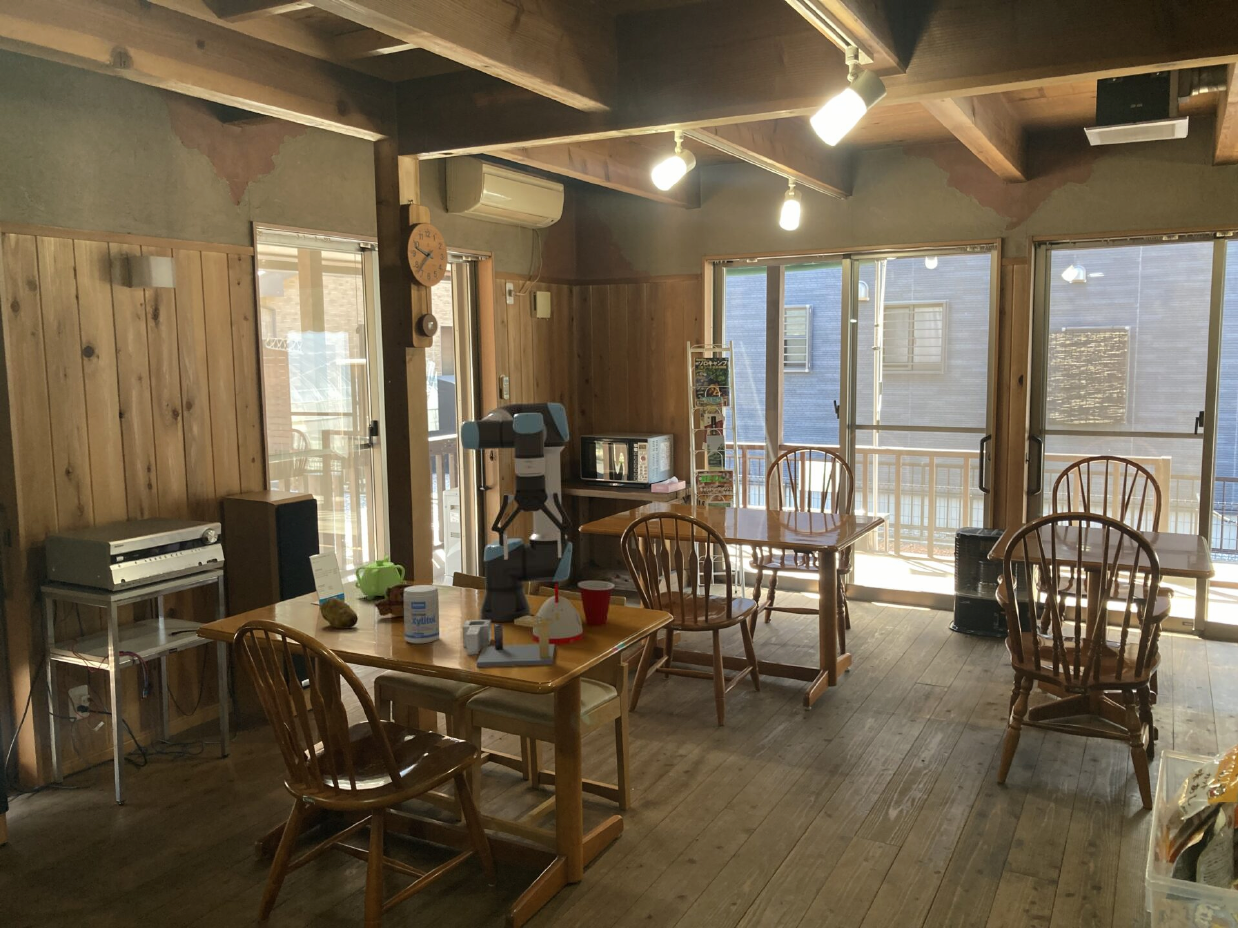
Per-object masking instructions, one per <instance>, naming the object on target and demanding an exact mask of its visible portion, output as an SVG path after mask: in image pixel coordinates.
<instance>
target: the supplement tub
mask: <svg viewBox="0 0 1238 928" xmlns="http://www.w3.org/2000/svg"><path fill="white" fill-rule="evenodd" d="M416 585H417V584H416ZM416 585H413V586H411V587H407V588H405V589H404V616H403V622H404V640H405V641H406V642H408V643H411V644H426V643H431V642H435V641H437V640H439V637H440V609H439V608H440V607H439V592H438V591H439V589H438V587H437V586H435V585H429V584H420V585H419V584H418V585H417V586H416Z"/></svg>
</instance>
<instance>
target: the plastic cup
mask: <svg viewBox="0 0 1238 928" xmlns="http://www.w3.org/2000/svg"><path fill="white" fill-rule="evenodd" d="M577 586H578V588H579V591H580V592H579V593H580V597H581V601H582V602H581V603H582V608H583V612H584V613H583V614H584V617H585V621H586V624H587V626H594V627H595V626H596V627H597V626H599V627H600V626H604V625H605V624H607V621H608V613H609V609H610V602H611V595H612V592H613V589H614V588H615V584H614V583H613V582H608V581H602V580H584V581H579V582H578V583H577Z"/></svg>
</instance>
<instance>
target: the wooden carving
mask: <svg viewBox="0 0 1238 928" xmlns="http://www.w3.org/2000/svg"><path fill="white" fill-rule="evenodd" d="M411 586H414V585H413V584H409V583H407V584H404V583H402V584H397V585H395V586H393V587H391V588H390V587H387V590H386V595H387V596H388V599H379V600H378V601H376V602H375V603H374V607H376V608H377V610H378V613H379V616H382V617H383V616H387V615H389V614H391V615H394V616H395V617H404V589H405V588H407V587H411ZM415 586H417V584H416V585H415Z"/></svg>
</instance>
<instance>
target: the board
mask: <svg viewBox="0 0 1238 928" xmlns="http://www.w3.org/2000/svg"><path fill="white" fill-rule="evenodd" d="M555 646H556V644H549V658H540V656H539V644H513V645H508V644H507V645H503V649H502V650H495V645H489V646H482V647H481V651H480V652H479V654H478V655H479V656H478V658H477V660H476V668H480V667H481V668H486V667H488V668H489V667H491V668H492V667H515V666H516V665H522V666H548V665H553V662H554V656H555V649H556V647H555ZM512 665H514V666H512Z"/></svg>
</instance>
